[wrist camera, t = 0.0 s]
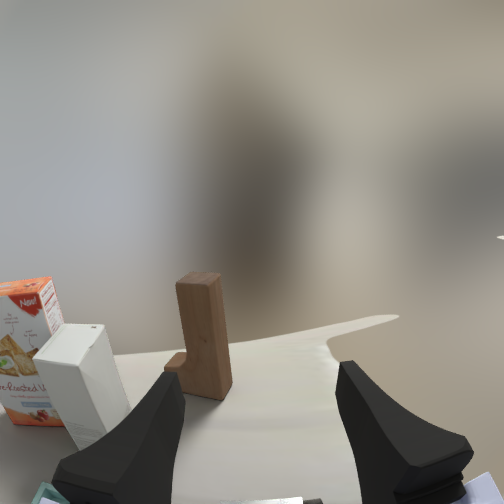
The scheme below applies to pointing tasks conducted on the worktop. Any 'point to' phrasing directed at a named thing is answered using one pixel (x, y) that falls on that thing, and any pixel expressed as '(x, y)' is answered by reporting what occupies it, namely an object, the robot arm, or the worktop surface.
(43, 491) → the tray
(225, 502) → the trolley
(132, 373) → the worktop surface
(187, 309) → the wooden block
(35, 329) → the cracker box
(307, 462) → the worktop surface
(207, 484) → the worktop surface
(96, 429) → the skincare box
